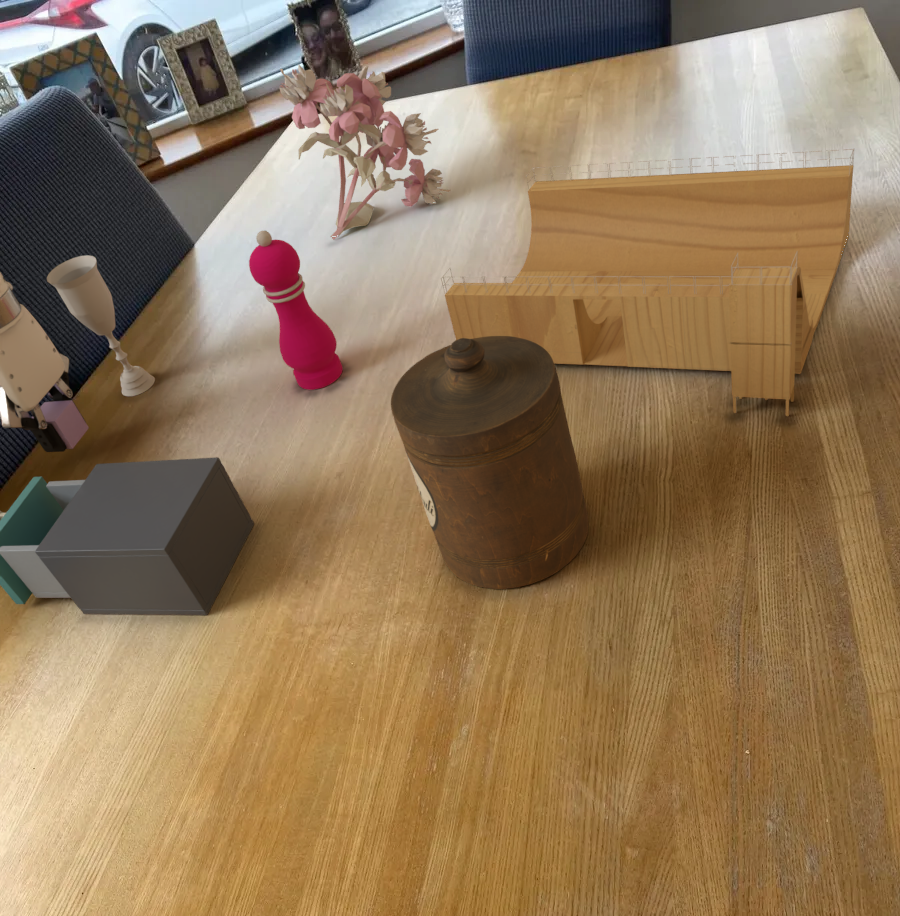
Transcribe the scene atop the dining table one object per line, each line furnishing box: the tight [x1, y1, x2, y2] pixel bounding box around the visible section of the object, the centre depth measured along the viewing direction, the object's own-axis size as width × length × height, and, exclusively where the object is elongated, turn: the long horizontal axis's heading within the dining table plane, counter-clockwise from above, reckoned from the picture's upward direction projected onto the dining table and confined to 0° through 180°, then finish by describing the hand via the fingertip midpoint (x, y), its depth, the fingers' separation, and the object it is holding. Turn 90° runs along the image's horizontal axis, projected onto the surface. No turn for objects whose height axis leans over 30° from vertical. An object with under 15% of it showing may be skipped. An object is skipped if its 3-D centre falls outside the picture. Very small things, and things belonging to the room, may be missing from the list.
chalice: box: [46, 255, 156, 397], centre depth 127 cm, size 7×7×18 cm
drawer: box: [0, 476, 86, 605], centre depth 104 cm, size 21×12×8 cm, turn 77°
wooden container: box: [390, 336, 590, 590], centre depth 85 cm, size 15×15×22 cm
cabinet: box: [35, 456, 255, 616], centre depth 100 cm, size 16×14×10 cm
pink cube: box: [31, 399, 90, 450], centre depth 121 cm, size 4×4×4 cm
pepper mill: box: [248, 230, 343, 391], centre depth 116 cm, size 7×7×20 cm
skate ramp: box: [440, 148, 855, 417], centre depth 108 cm, size 40×35×16 cm
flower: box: [279, 63, 451, 241], centre depth 145 cm, size 20×22×25 cm
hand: (65, 436), depth 123 cm, fingers closed on pink cube, 4 cm apart
